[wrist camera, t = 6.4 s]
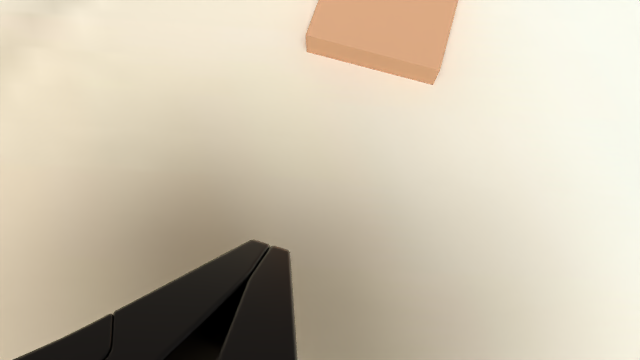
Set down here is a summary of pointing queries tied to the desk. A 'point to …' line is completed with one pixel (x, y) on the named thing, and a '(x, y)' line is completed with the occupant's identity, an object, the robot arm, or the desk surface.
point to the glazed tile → (384, 34)
